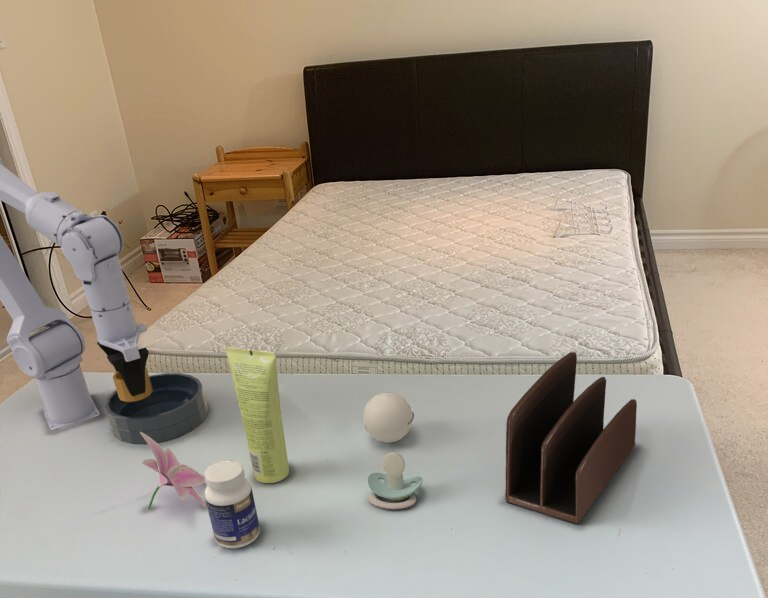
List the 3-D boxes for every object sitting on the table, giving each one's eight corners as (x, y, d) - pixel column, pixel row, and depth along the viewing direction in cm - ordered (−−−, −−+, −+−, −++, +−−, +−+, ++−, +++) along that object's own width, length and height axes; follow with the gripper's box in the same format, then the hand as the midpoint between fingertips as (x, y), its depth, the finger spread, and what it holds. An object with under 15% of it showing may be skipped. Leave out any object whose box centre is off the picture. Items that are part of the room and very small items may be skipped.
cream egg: (409, 453, 109) (405, 409, 105) (359, 450, 111) (354, 406, 107) (423, 418, 117) (420, 376, 113) (377, 416, 119) (372, 374, 115)
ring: (115, 392, 118) (109, 372, 116) (147, 383, 120) (141, 362, 118) (123, 405, 114) (117, 384, 113) (156, 394, 116) (150, 374, 115)
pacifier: (415, 515, 97) (426, 487, 101) (411, 475, 93) (423, 448, 98) (360, 508, 99) (375, 481, 104) (355, 469, 96) (370, 443, 100)
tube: (289, 460, 110) (267, 337, 100) (297, 478, 106) (275, 351, 96) (251, 470, 109) (224, 346, 99) (258, 489, 105) (231, 361, 95)
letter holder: (504, 502, 97) (502, 406, 90) (567, 430, 110) (570, 342, 103) (578, 526, 92) (583, 426, 85) (635, 447, 105) (644, 355, 98)
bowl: (96, 426, 124) (88, 399, 122) (176, 390, 133) (170, 365, 131) (143, 457, 115) (134, 429, 112) (226, 416, 123) (220, 389, 121)
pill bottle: (251, 551, 93) (236, 485, 88) (208, 548, 94) (191, 483, 89) (267, 522, 98) (253, 458, 93) (225, 520, 99) (210, 456, 94)
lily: (181, 544, 97) (204, 478, 95) (97, 509, 97) (118, 443, 95) (214, 513, 109) (234, 453, 106) (138, 481, 109) (157, 421, 107)
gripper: (150, 311, 106) (172, 396, 113) (125, 284, 117) (146, 363, 124) (99, 324, 103) (125, 411, 110) (78, 296, 114) (103, 376, 121)
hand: (133, 387), depth 117 cm, fingers closed on ring, 5 cm apart
